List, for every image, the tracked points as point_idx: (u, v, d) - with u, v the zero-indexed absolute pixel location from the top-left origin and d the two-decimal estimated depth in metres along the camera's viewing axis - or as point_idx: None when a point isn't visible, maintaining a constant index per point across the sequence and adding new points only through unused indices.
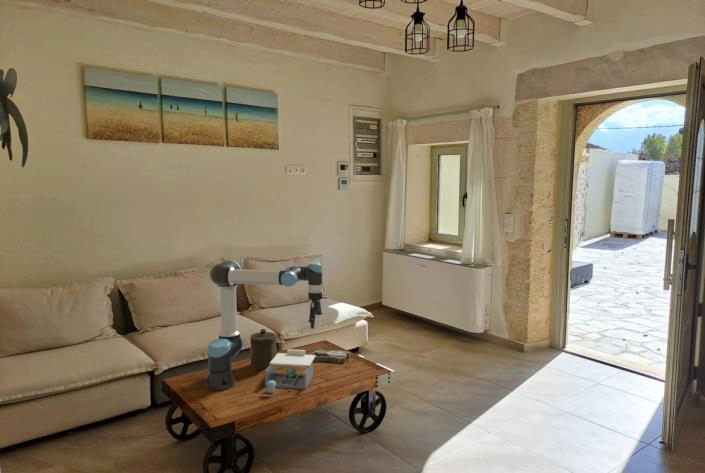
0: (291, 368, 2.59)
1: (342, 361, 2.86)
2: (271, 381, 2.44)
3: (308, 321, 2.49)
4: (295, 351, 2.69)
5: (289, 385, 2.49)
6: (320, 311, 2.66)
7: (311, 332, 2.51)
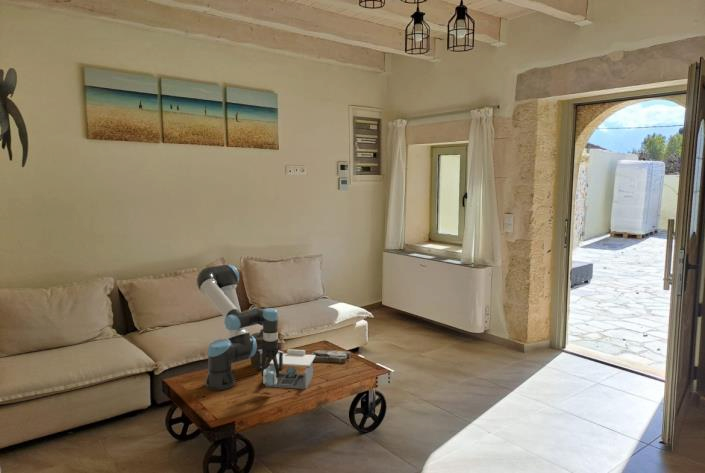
0: (291, 368, 2.59)
1: (343, 361, 2.85)
2: (270, 372, 2.44)
3: None
4: (295, 351, 2.69)
5: (289, 385, 2.49)
6: (279, 369, 2.42)
7: None
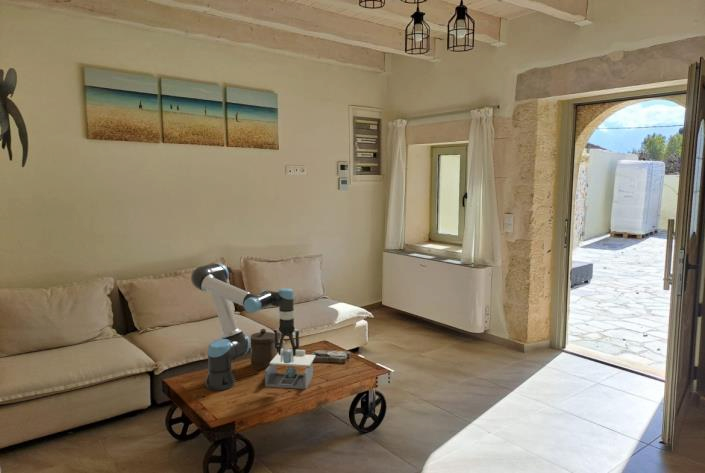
0: (291, 368, 2.59)
1: (343, 361, 2.85)
2: (287, 350, 2.51)
3: None
4: None
5: (289, 385, 2.49)
6: (295, 347, 2.49)
7: None
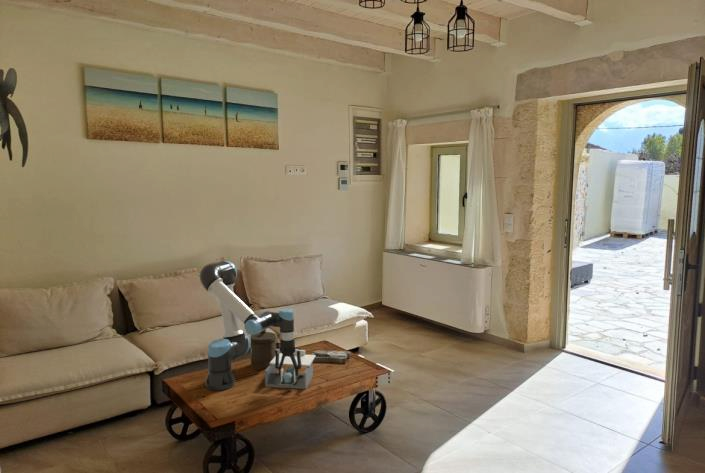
0: (291, 368, 2.59)
1: (343, 361, 2.85)
2: (287, 373, 2.52)
3: None
4: None
5: (289, 385, 2.49)
6: (298, 367, 2.50)
7: None
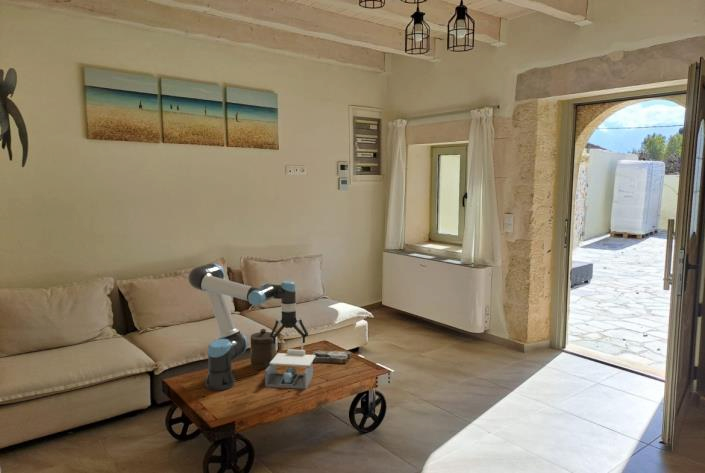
0: (291, 368, 2.59)
1: (344, 361, 2.85)
2: (288, 373, 2.52)
3: None
4: (295, 351, 2.69)
5: (289, 385, 2.49)
6: (305, 334, 2.54)
7: None
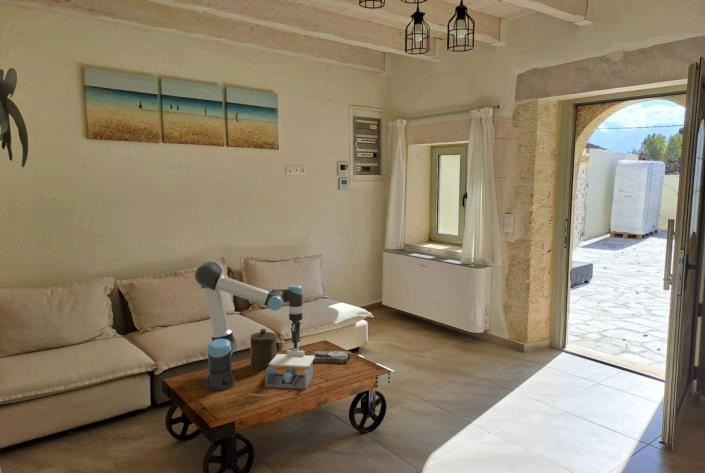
0: (291, 368, 2.59)
1: (344, 361, 2.85)
2: (288, 373, 2.52)
3: None
4: (294, 352, 2.68)
5: (289, 385, 2.49)
6: None
7: None
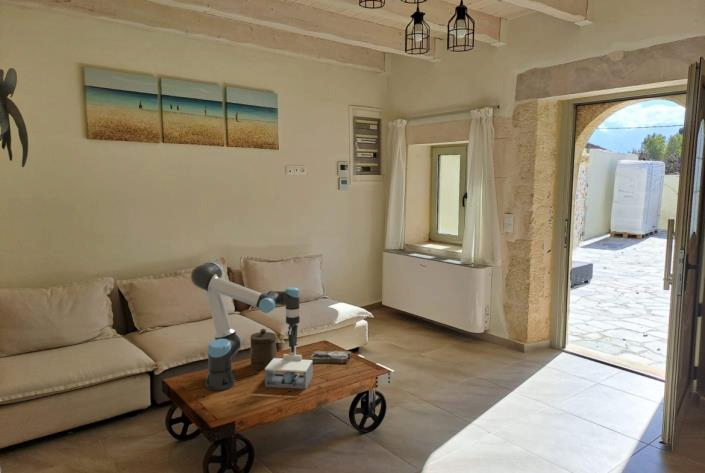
0: None
1: (345, 361, 2.85)
2: (288, 373, 2.52)
3: None
4: (291, 356, 2.61)
5: (289, 385, 2.49)
6: None
7: None
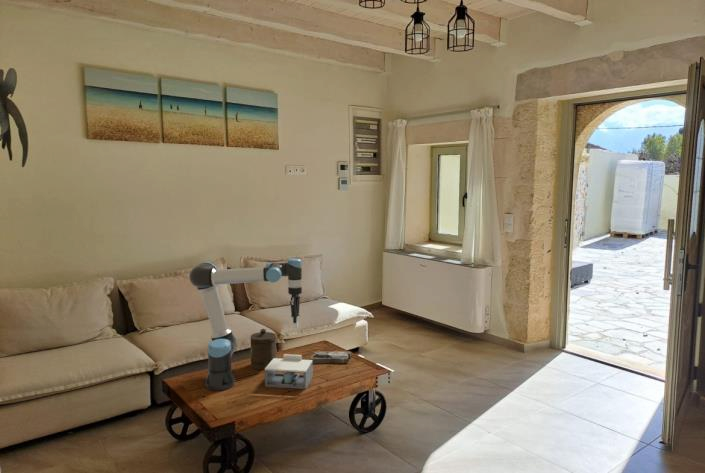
0: None
1: (345, 361, 2.85)
2: (288, 373, 2.52)
3: (291, 316, 2.65)
4: (291, 356, 2.61)
5: (289, 385, 2.49)
6: (298, 312, 2.69)
7: (294, 326, 2.67)
